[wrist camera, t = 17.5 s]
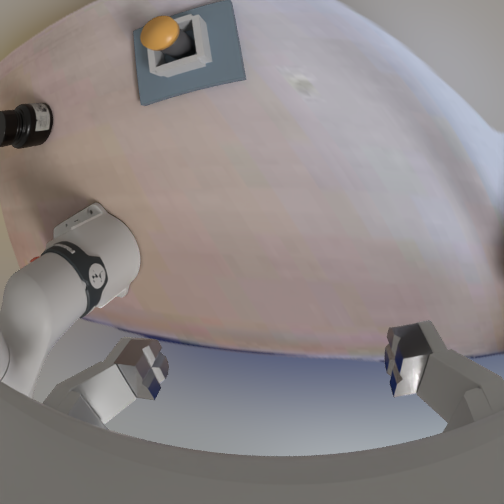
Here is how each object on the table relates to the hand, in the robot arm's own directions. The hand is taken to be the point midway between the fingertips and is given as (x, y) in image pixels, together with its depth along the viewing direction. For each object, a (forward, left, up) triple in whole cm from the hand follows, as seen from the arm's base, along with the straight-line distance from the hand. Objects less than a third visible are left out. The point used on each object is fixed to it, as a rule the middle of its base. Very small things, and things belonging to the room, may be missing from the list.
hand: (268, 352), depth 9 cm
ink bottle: (-46, +23, -33) cm, 61 cm away
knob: (-12, +24, -31) cm, 41 cm away
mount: (-12, +24, -33) cm, 42 cm away
